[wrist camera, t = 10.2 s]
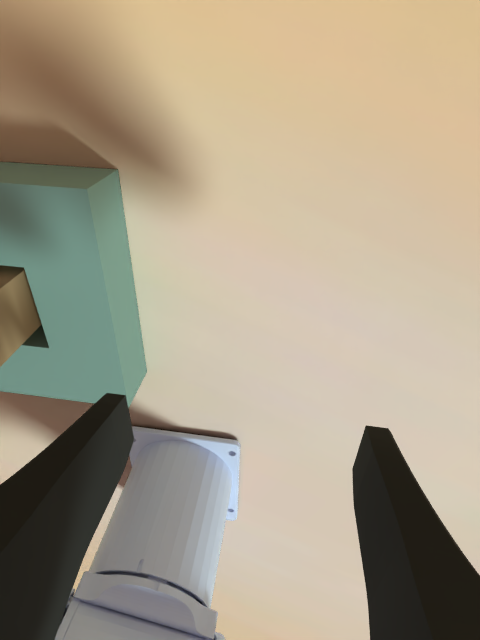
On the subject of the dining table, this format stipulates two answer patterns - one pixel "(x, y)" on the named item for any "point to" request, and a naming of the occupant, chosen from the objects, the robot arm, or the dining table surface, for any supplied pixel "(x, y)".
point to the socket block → (71, 282)
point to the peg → (15, 311)
